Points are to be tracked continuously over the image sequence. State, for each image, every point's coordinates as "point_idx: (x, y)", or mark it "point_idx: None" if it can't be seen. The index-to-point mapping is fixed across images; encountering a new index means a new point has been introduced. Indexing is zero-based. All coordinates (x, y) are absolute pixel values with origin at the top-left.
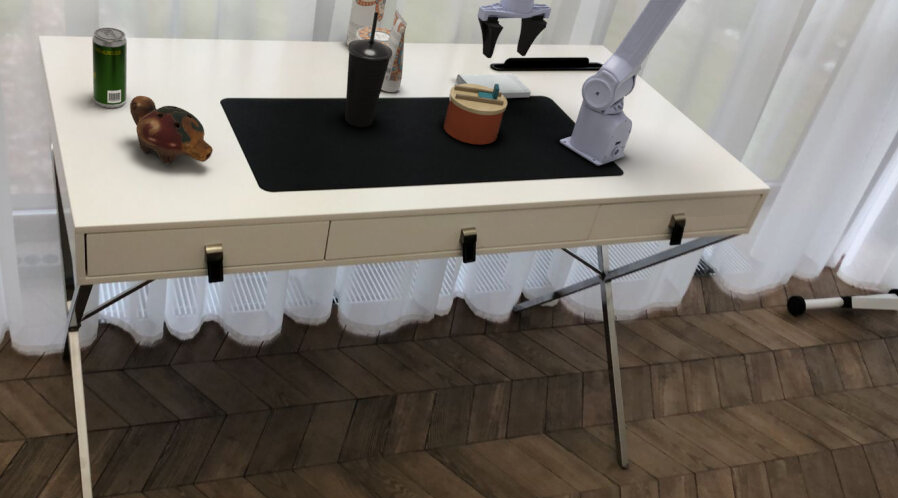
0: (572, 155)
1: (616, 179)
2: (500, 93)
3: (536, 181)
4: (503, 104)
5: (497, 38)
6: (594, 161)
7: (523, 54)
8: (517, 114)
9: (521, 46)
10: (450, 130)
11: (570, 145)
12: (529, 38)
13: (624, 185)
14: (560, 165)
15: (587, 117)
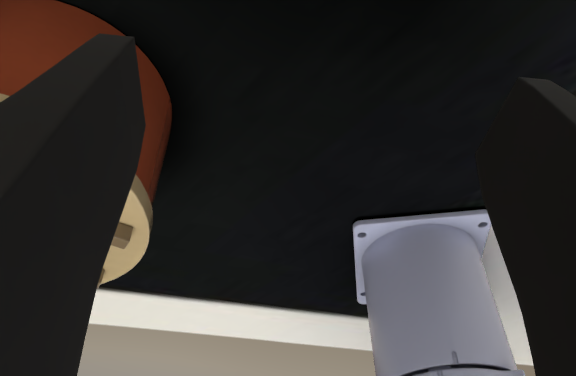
0: (338, 259)
1: (358, 324)
2: (118, 246)
3: (157, 298)
4: (108, 271)
5: (83, 335)
6: (359, 297)
7: (480, 170)
8: (365, 45)
9: (521, 168)
10: None
11: (361, 248)
12: (532, 323)
13: (355, 335)
14: (266, 277)
15: (374, 364)
